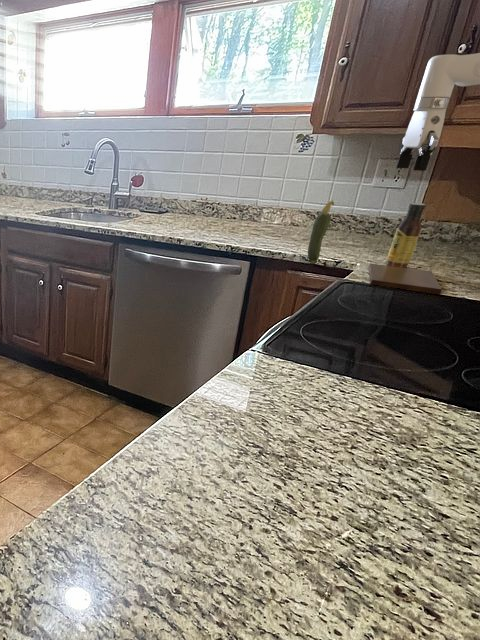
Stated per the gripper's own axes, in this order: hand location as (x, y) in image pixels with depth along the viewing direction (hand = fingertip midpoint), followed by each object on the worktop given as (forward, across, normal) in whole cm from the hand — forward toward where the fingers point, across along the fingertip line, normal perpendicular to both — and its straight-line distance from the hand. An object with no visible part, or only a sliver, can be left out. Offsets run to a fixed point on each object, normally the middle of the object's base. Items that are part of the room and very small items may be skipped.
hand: (410, 169), depth 155 cm
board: (+30, -14, 0) cm, 33 cm away
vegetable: (+30, +2, +19) cm, 36 cm away
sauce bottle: (+30, +6, -8) cm, 32 cm away
